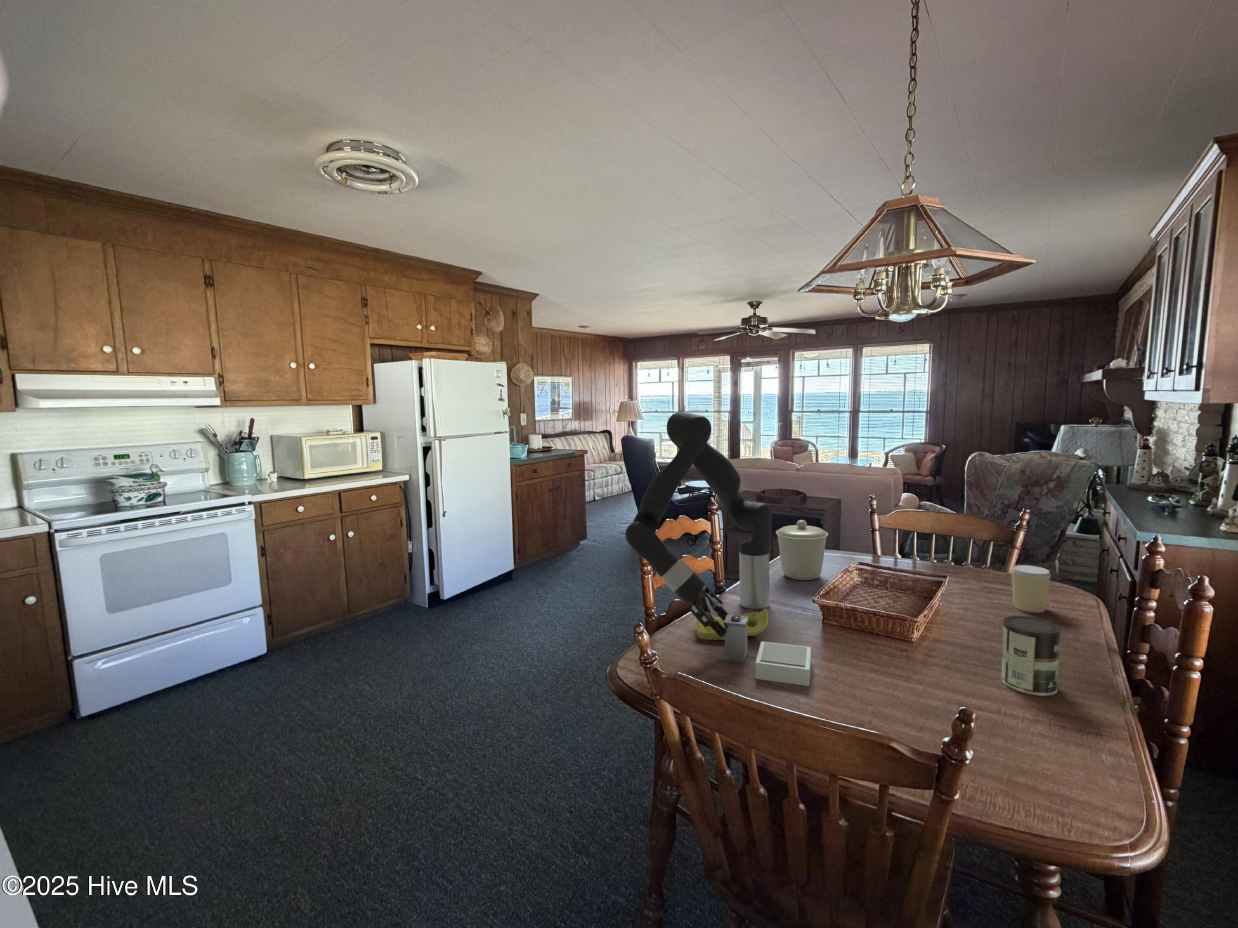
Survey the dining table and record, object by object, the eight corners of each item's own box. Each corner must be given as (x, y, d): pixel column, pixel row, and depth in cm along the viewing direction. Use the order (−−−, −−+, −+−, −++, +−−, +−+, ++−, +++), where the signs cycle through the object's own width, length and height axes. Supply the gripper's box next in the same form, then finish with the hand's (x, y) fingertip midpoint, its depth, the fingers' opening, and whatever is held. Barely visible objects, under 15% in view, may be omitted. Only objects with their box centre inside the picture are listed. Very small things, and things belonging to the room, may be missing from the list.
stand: (761, 656, 141) (761, 640, 141) (810, 662, 137) (810, 645, 136) (755, 678, 130) (755, 661, 130) (809, 686, 126) (809, 668, 125)
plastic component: (695, 632, 151) (696, 605, 160) (698, 650, 155) (699, 623, 163) (769, 632, 147) (767, 604, 155) (771, 650, 151) (768, 622, 159)
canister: (793, 566, 216) (793, 513, 213) (837, 576, 202) (837, 519, 199) (766, 576, 204) (765, 520, 202) (810, 588, 190) (810, 528, 188)
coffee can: (1054, 679, 125) (1057, 619, 124) (1060, 701, 116) (1064, 637, 115) (999, 669, 131) (1001, 611, 129) (1001, 689, 122) (1004, 627, 120)
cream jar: (1046, 605, 168) (1048, 567, 167) (1050, 615, 160) (1052, 575, 159) (1009, 600, 173) (1011, 563, 172) (1011, 610, 165) (1013, 571, 164)
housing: (727, 650, 145) (727, 612, 144) (748, 653, 143) (748, 614, 142) (724, 659, 140) (723, 619, 139) (745, 662, 138) (745, 622, 137)
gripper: (685, 580, 136) (733, 630, 134) (698, 564, 150) (741, 609, 147) (665, 598, 139) (711, 648, 136) (679, 581, 152) (722, 625, 149)
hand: (727, 627), depth 141 cm, fingers open, 8 cm apart
